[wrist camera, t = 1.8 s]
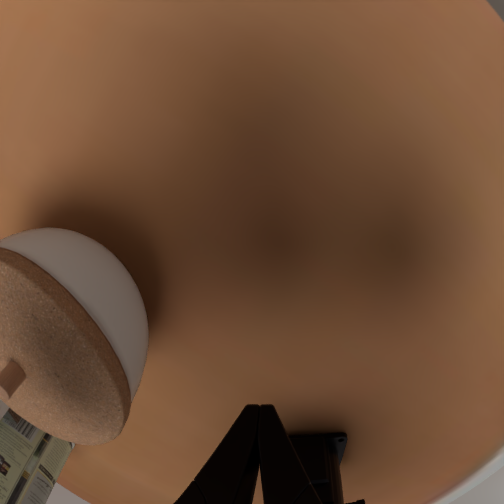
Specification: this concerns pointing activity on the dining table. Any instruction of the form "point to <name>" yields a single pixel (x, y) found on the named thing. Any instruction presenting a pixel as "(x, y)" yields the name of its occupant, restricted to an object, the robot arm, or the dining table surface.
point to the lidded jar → (69, 335)
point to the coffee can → (29, 462)
